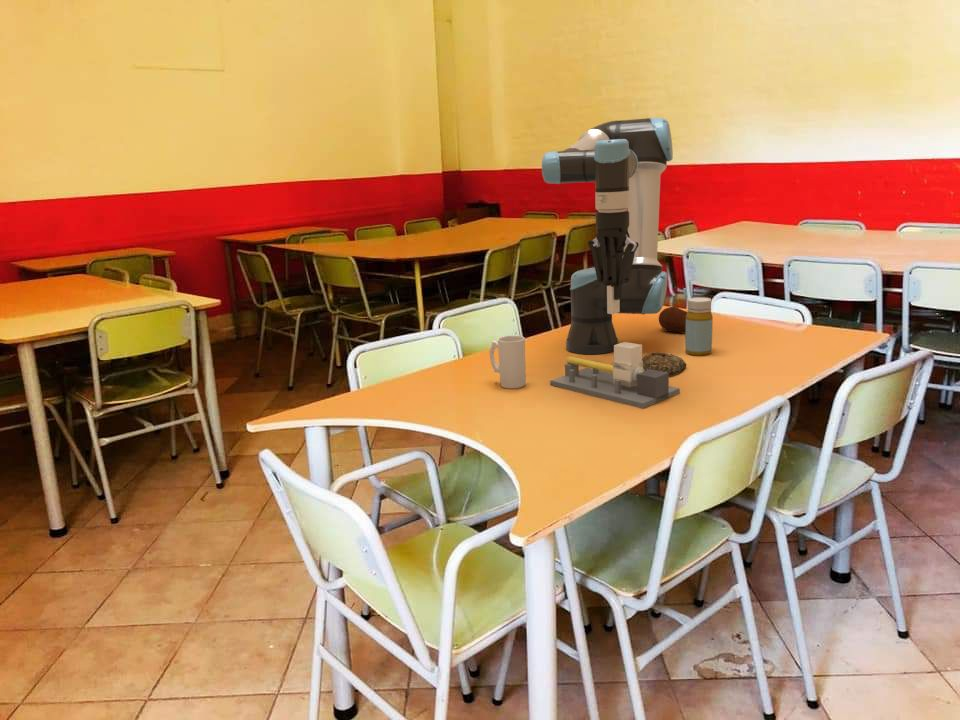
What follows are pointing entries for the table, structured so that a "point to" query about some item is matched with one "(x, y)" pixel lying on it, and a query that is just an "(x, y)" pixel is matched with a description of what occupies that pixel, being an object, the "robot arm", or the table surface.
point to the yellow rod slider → (601, 384)
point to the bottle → (699, 326)
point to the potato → (673, 319)
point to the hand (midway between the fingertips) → (613, 312)
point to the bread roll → (663, 363)
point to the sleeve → (626, 362)
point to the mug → (510, 361)
